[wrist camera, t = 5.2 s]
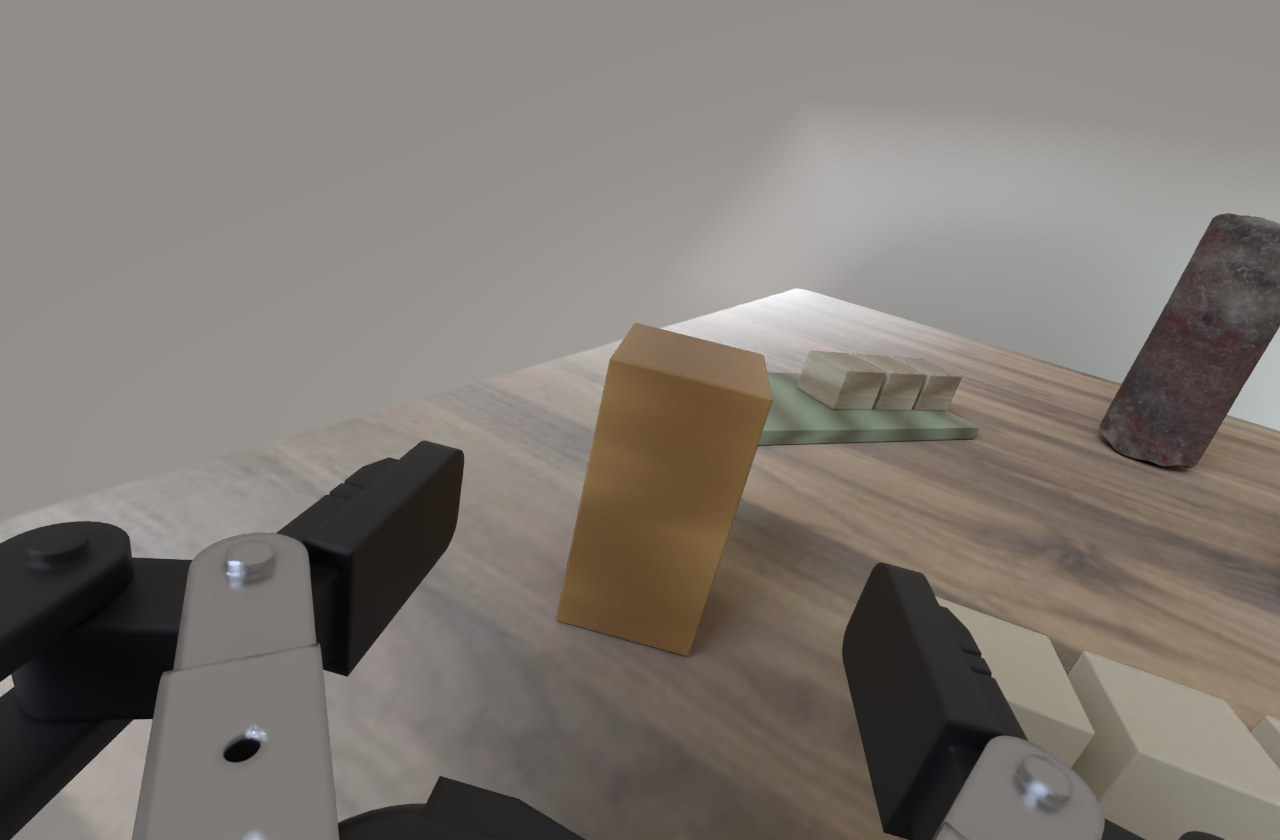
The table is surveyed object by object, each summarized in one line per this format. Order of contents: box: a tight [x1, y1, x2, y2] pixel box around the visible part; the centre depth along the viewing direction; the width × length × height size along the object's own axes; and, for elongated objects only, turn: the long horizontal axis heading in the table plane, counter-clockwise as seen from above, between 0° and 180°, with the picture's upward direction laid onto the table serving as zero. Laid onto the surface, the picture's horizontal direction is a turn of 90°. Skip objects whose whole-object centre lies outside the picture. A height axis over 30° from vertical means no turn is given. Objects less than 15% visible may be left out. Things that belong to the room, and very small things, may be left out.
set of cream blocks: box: [935, 596, 1280, 840], centre depth 17 cm, size 14×4×3 cm, turn 72°
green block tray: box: [758, 351, 979, 445], centre depth 44 cm, size 26×10×4 cm, turn 117°
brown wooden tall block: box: [556, 323, 773, 656], centre depth 19 cm, size 4×4×9 cm
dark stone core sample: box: [1099, 213, 1280, 468], centre depth 50 cm, size 8×7×20 cm
